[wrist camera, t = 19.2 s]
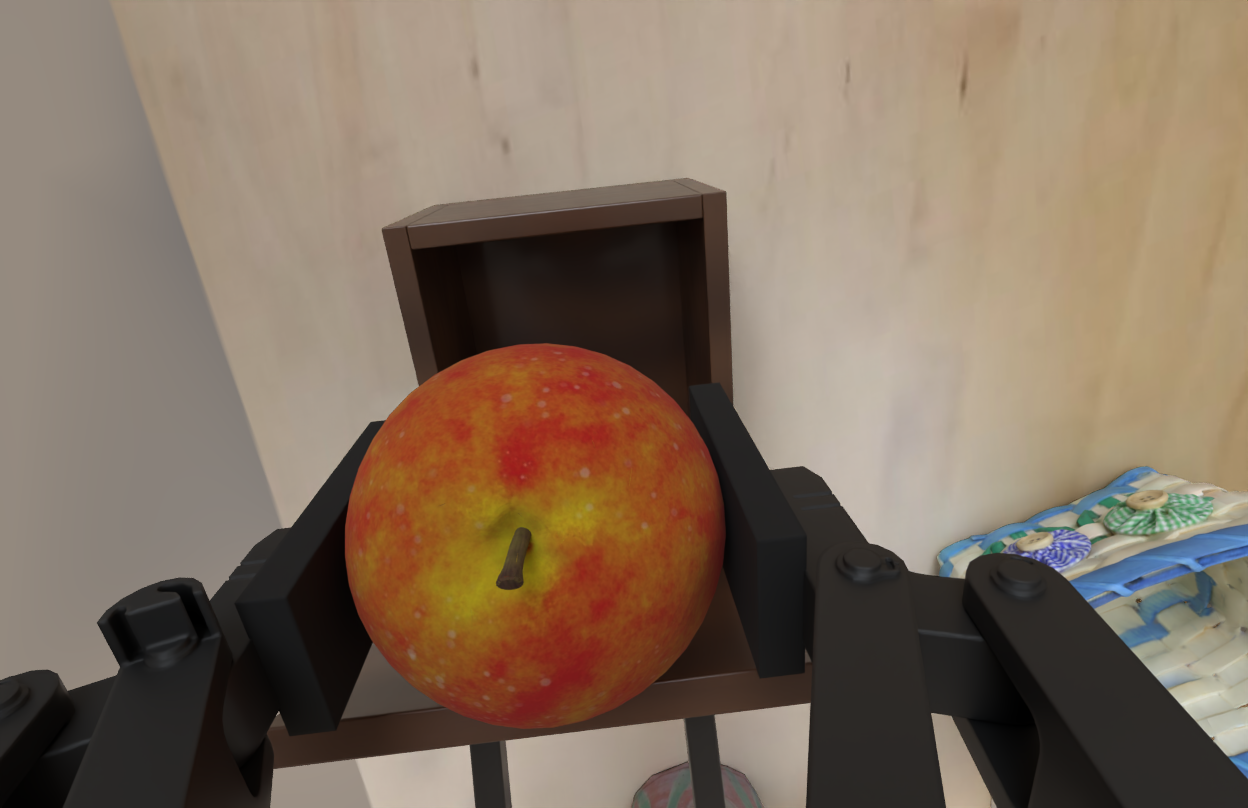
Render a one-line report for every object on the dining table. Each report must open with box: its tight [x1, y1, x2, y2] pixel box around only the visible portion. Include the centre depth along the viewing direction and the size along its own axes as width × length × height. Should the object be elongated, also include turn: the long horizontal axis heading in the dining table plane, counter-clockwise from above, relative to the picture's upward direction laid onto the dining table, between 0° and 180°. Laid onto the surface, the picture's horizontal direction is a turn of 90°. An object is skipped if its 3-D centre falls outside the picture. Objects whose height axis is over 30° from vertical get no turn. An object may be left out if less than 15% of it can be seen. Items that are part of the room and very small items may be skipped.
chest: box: [382, 178, 733, 420], centre depth 31 cm, size 16×13×9 cm
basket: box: [937, 466, 1248, 778], centre depth 31 cm, size 21×16×24 cm
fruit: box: [345, 343, 726, 729], centre depth 12 cm, size 7×7×8 cm
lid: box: [267, 566, 812, 808], centre depth 21 cm, size 17×13×10 cm
